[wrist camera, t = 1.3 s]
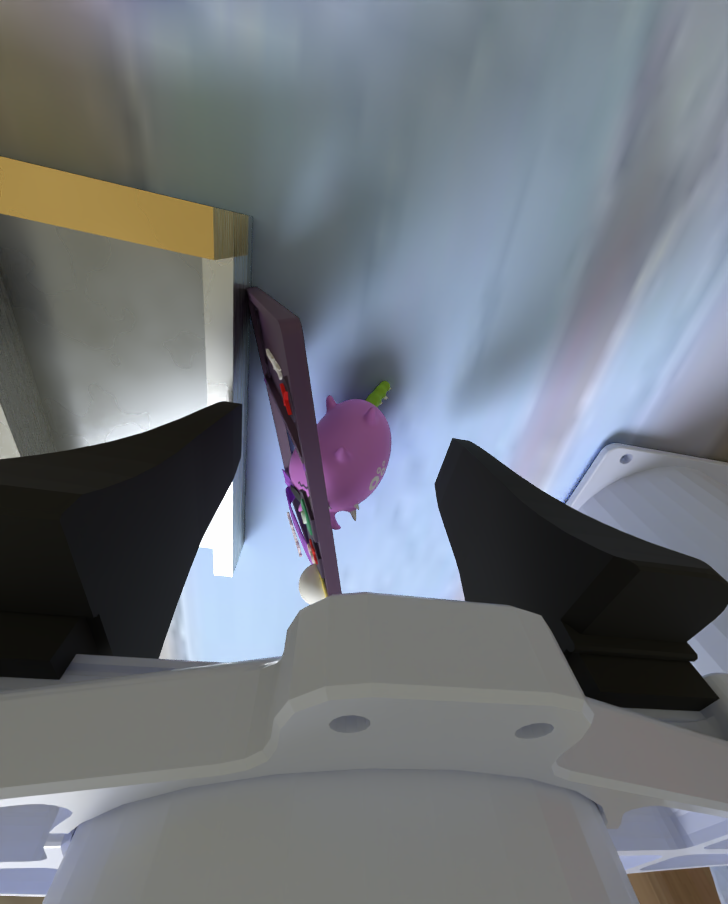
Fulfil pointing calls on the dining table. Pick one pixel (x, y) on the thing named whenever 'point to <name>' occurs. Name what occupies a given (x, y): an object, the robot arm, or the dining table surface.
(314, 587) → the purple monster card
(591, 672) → the robot arm
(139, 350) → the drawer
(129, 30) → the dining table surface
